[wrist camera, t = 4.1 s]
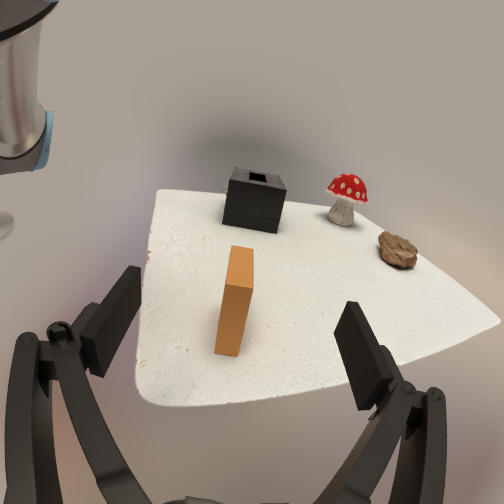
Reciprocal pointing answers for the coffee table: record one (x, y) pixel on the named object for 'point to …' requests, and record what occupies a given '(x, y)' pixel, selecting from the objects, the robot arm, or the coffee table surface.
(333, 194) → the decorative mushroom
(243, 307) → the toast
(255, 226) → the toaster
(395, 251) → the rock
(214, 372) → the coffee table surface
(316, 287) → the coffee table surface
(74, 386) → the robot arm
